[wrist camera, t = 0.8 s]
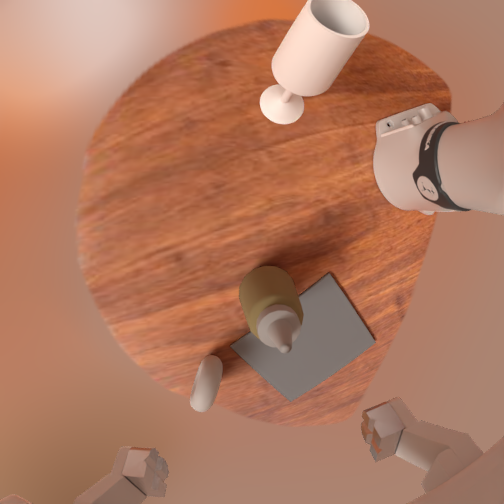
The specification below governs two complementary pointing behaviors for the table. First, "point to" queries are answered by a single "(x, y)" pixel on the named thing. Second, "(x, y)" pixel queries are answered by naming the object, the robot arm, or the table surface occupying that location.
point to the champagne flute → (312, 55)
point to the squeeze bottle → (272, 306)
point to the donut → (206, 383)
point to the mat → (311, 342)
